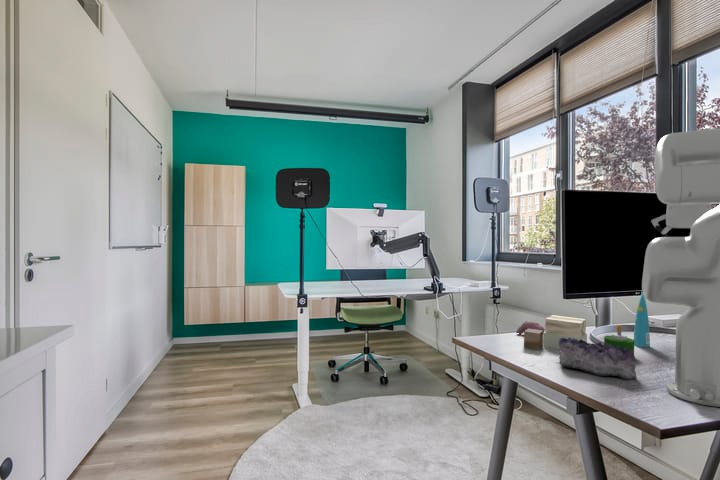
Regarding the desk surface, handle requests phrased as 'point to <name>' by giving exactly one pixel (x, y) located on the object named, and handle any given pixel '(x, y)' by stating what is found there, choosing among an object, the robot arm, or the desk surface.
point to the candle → (620, 340)
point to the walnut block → (533, 339)
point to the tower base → (553, 339)
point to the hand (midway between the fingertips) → (687, 247)
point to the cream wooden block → (565, 326)
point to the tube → (642, 325)
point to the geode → (597, 358)
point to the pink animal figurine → (529, 327)
